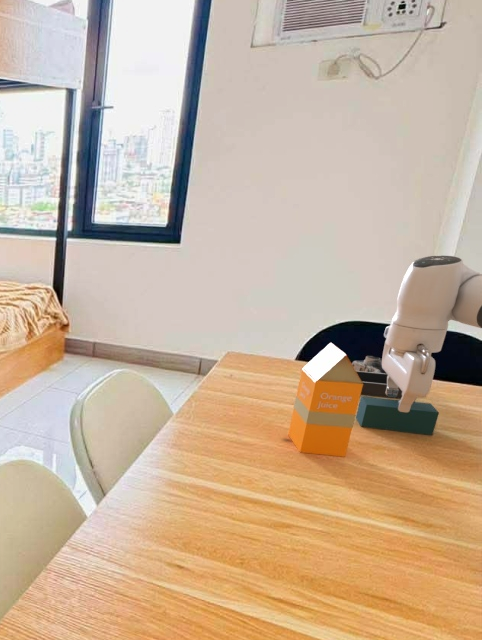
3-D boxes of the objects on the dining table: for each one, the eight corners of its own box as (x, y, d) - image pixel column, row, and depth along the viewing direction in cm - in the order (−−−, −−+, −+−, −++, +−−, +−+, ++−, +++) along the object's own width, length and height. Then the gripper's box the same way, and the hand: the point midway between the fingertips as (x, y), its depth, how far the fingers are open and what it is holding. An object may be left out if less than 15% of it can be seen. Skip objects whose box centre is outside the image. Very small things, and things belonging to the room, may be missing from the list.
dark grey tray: (401, 387, 154) (404, 375, 153) (412, 400, 145) (416, 387, 144) (323, 379, 160) (326, 368, 159) (330, 391, 152) (333, 379, 151)
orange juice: (299, 452, 120) (321, 352, 114) (287, 434, 128) (307, 340, 122) (346, 457, 118) (371, 355, 111) (331, 438, 126) (353, 342, 119)
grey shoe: (376, 379, 159) (380, 364, 158) (347, 367, 169) (350, 352, 167) (395, 379, 159) (399, 363, 158) (365, 367, 169) (369, 352, 168)
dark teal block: (424, 425, 131) (430, 403, 130) (432, 435, 127) (439, 412, 125) (355, 417, 136) (361, 396, 134) (361, 426, 131) (366, 404, 130)
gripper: (452, 354, 115) (430, 423, 120) (419, 329, 132) (402, 390, 137) (409, 350, 118) (390, 418, 122) (383, 326, 135) (367, 386, 140)
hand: (396, 403), depth 130 cm, fingers open, 8 cm apart
